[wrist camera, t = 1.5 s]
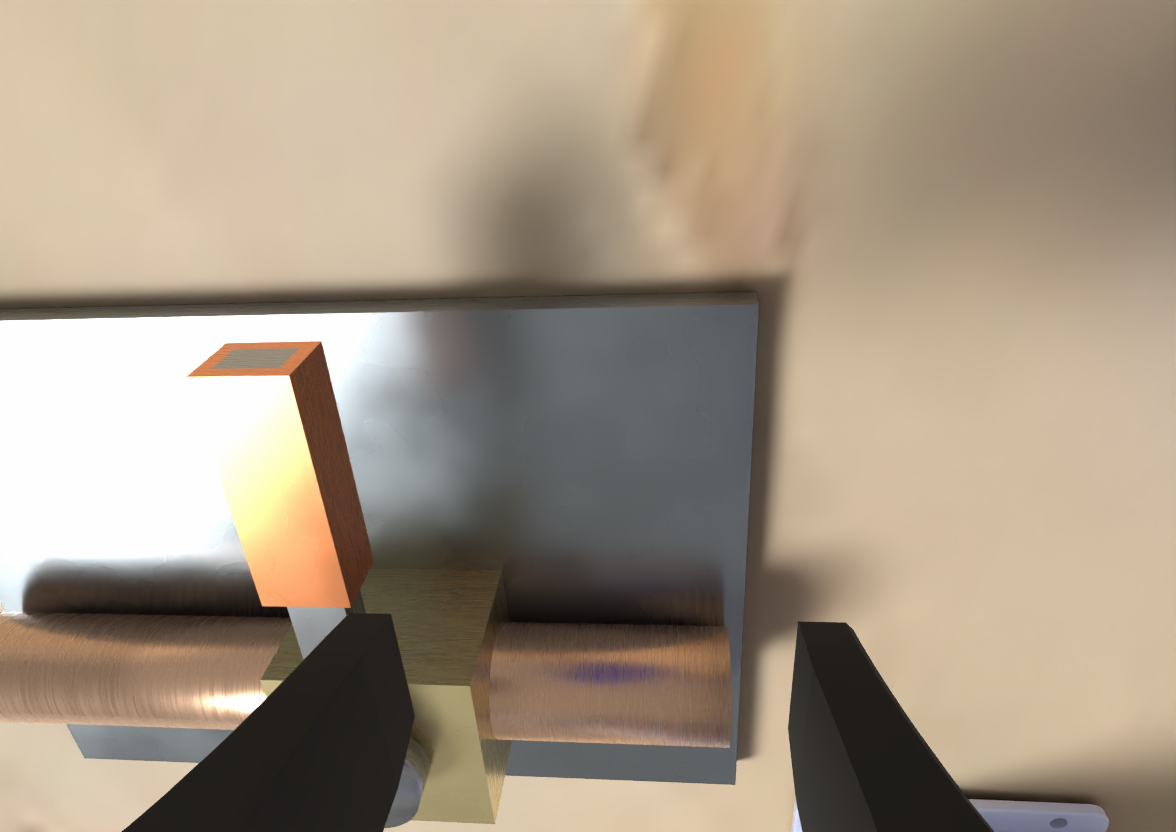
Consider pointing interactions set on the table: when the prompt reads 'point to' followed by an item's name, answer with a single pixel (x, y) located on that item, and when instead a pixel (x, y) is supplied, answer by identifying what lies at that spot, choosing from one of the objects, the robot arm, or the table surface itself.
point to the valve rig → (398, 529)
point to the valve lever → (293, 495)
